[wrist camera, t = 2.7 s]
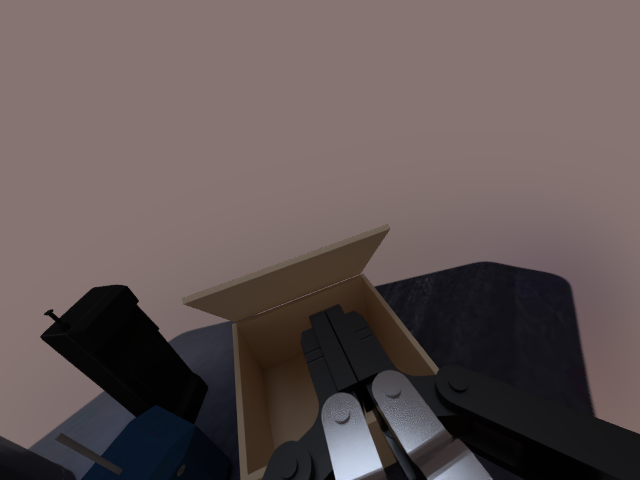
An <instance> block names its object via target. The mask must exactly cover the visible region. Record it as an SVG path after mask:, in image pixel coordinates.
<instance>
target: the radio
mask: <svg viewBox="0 0 640 480" xmlns="http://www.w3.org/2000/svg"><path fill="white" fill-rule="evenodd" d="M55 440H57V441H59V442H61V443H62V444H64V445H66V446H68V447H70V448H71V449H73V450H75V451H77V452H79V453H80V454H82V455H84V456H86V457H87V458H89V459H91V460H93V461H95V462H96V463H95V464H94V465H93V466H92V467H91V468H90V470H89V471H88V472H87V473H86V474H85V476H84V477H83V478H82V479H81V480H226V476H227V472H228V468H229V464H230V459H229V458H228V457H227V456H226V455H225V454H224V453H223V452H222V451H221V450H220V449H219V448H218V447H217V446H216V445H215V444H214V443H213V442H212V441H211V440H210V439H209V438H208V437H207V436H206V435H205V434H204V433H203V432H202V431H201V430H200V429H199V428H198V427H197V426H196V425H194V424H192V423H190V422H188V421H186V420H184V419H182V418H180V417H179V416H177V415H175V414H173V413H171V412H169V411H167V410H165V409H163V408H161V407H159V406H157V405H155V406H154V407H152V408H151V409H149V410H147V411H146V412H144V413H143V414H141V415H140V416H138V417H137V418H135V419H133V420H132V421H130V423H129V424H128V425H127V426H126V427H125V429H124V430H123V431H122V432H121V433H120V434H119V436H118V437H117V438H116V439H115V440H114V441H113V443H112V444H111V445H110V446H109V447H108V448H107V450H106V451H105V452H104V453H103V454H102V456H99V455H98V454H96V453H94V452H92V451H91V450H89V449H87V448H86V447H84V446H82V445H81V444H79V443H77V442H75V441H74V440H72V439H70V438H69V437H67V436H65V435H64V434H62V433H60V434H59V435H58V436H57V437H56V438H55Z"/></svg>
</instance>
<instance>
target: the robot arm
mask: <svg viewBox="0 0 640 480" xmlns="http://www.w3.org/2000/svg"><path fill="white" fill-rule="evenodd" d="M309 319H310V322H311V325H312V328H310V329H308V330H305V331H303V332H302V334H301V341H300V344H301V347H302V350H303V354H304V357H305V360H306V363H307V366H308V369H309V372H310V376H311V379H312V382H313V385H314V388H315V391H316V395H317V398H318V402H319V411H318V415H317V418H316V421H315V423H314V424H313V426H312V427H311V428H310V429H309V430H308V431H307V432H306V433H305V434H304V435H303V436H302V437H301V438H300V439H299V440H298V441H287V442H284V443H283V444H281V445H280V446H279V447H277V449H276V450H275V451H274V452H273V454H272V456H271V458H270V460H269V462H268V465H267V468H266V470H265V473H264V475H263V478H262V480H388V479H387V477H386V474H385V472H384V469H383V467H382V464H381V461H380V458H379V456H378V453H377V450H376V447H375V445H374V442H373V439H372V436H371V434H370V431H369V428H368V426H367V422H366V418H365V412H364V409H365V411H366V413H368V412H370V411H373V413H374V416H375V418H376V420H377V422H378V425H379V429H380V432H381V434H382V436H383V438H384V439H385V441H386V443H387V445H388V447H389V448H390V450H391V452H392V454H393V456H394V458H395V459H396V461H397V463H398V465H399V467H400V468H401V470H402V472H403V474H404V476H405V477H406V479H407V480H493V479H492V478H491V477H490V475H489V474H488V473H487V471H486V470H485V469H484V468H483V466H482V465H481V464H480V462H479V461H478V460H477V459H476V457H475V456H474V455H473V454H472V452H473V453H475V454H477V455H479V456H481V457H483V458H485V459H487V460H489V461H490V462H492V463H494V464H496V465H498V466H500V467H502V468H504V469H506V470H507V471H509V472H511V473H513V474H515V475H517V476H519V477H521V478H523V479H524V480H640V434H638V433H635V432H632V431H630V430H627V429H624V428H622V427H619V426H617V425H614V424H612V423H609V422H606V421H604V420H601V419H598V418H596V417H593V416H590V415H588V414H585V413H583V412H580V411H577V410H575V409H572V408H569V407H567V406H564V405H561V404H559V403H556V402H554V401H551V400H548V399H546V398H543V397H540V396H538V395H535V394H532V393H530V392H527V391H525V390H522V389H519V388H517V387H514V386H511V385H509V384H506V383H503V382H501V381H498V380H496V379H493V378H490V377H488V376H485V375H482V374H480V373H477V372H474V371H472V370H469V369H467V368H464V367H461V366H458V365H446V366H443V367H442V368H440V369H439V370H438V372H437V374H436V375H426V376H411V375H407V374H405V373H403V372H401V371H400V370H399V369H397V368H396V367H395V365H394V364H393V363H392V361H391V360H390V358H389V356H388V355H387V353H386V352H385V350H384V349H383V347H382V346H381V344H380V342H379V341H378V339H377V338H376V336H375V335H374V333H373V331H372V330H371V328H370V327H369V325H368V324H367V322H366V320H365V319H364V317H363V316H361V315H360V314H358V313H357V312H356V311H354V310H353V311H351V312H348V313H346V314H345V313H344V311H343V309H342V308H341V306H340V305H339V304H337V305H334V306H332V307H329V308H327V309H324V311H323V310H322V311H320V312H317V313H315V314H312V315H310V316H309ZM471 451H472V452H471ZM0 480H75V476H74V475H73V473H72V472H71V471H69V470H67V469H65V468H64V467H62V466H61V465H59V464H56V463H53V462H51V461H49V460H48V459H46V458H44V457H42V456H40V455H38V454H36V453H34V452H32V451H30V450H28V449H25V448H23V447H21V446H19V445H17V444H15V443H13V442H11V441H9V440H7V439H5V438H3V437H1V436H0Z"/></svg>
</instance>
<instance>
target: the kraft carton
mask: <svg viewBox="0 0 640 480" xmlns="http://www.w3.org/2000/svg"><path fill="white" fill-rule="evenodd" d="M337 304H339V305H340V306H341V308H342V309H343V311H344V313H345V314H346V313H348V312H351V311H353V310H354V311H356V312H357V313H358V314H360V315H361V316H363V317H364V319H365V320H366V322H367V324H368V325H369V327H370V328H371V330H372V331H373V333H374V335H375V336H376V338H377V339H378V341H379V342H380V344H381V346H382V347H383V349H384V350H385V352H386V353H387V355H388V356H389V358H390V360H391V361H392V363H393V364H394V365H395V367H396V368H397V369H399V370H400V371H401V372H403V373H405V374H407V375H411V376H426V375H436V374H437V372H438V370H439V369H438V367H437V366H436V365H435V364H434V362H433V361H432V360H431V358H430V357H429V356H428V355H427V353H426V352H425V351H424V350H423V348H422V347H421V346H420V345H419V343H418V342H417V341H416V339H415V338H414V337H413V336H412V334H411V333H410V332H409V331H408V329H407V328H406V327H405V326H404V324H403V323H402V322H401V320H400V319H399V318H398V317H397V315H396V314H395V313H394V312H393V310H392V309H391V308H390V307H389V305H388V304H387V303H386V302H385V300H384V299H383V298H382V296H381V295H380V294H379V293H378V291H377V290H376V289H375V288H374V286H373V285H372V284H371V283H370V281H369V280H368V279H367V278H366V276H365V275H364V274H361V275H358V276H356V277H353V278H351V279H348V280H346V281H343V282H340V283H338V284H335V285H333V286H330V287H328V288H325V289H322V290H320V291H317V292H315V293H312V294H310V295H307V296H304V297H302V298H299V299H297V300H294V301H292V302H289V303H287V304H284V305H281V306H279V307H276V308H274V309H271V310H268V311H266V312H263V313H261V314H258V315H256V316H253V317H250V318H248V319H245V320H243V321H240V322H238V323H235V324H232V326H233V345H234V364H235V383H236V402H237V421H238V439H239V458H240V477H241V480H262V478H263V475H264V473H265V470H266V468H267V465H268V462H269V460H270V458H271V456H272V454H273V452H274V451H275V450H276V449H277V447H279V446H280V445H281V444H283V443H284V442H287V441H298V440H299V439H300V438H301V437H302V436H303V435H304V434H305V433H306V432H307V431H308V430H309V429H310V428H311V427H312V426H313V424H314V423H315V421H316V418H317V415H318V411H319V402H318V398H317V395H316V391H315V388H314V385H313V382H312V379H311V376H310V372H309V369H308V366H307V363H306V360H305V357H304V354H303V350H302V347H301V344H300V341H301V334H302V332H303V331H305V330H308V329H310V328H312V325H311V322H310V319H309V316H310V315H312V314H315V313H317V312H320V311H322V310H323V311H324V309H327V308H329V307H332V306H334V305H337ZM364 412H365V418H366V422H367V426H368V428H369V431H370V434H371V436H372V439H373V442H374V445H375V447H376V450H377V453H378V456H379V458H380V461H381V464H382V467H383V469H384V468H386V467H388V466H390V465H391V464H393V463H395V462H397V461H396V459H395V458H394V456H393V454H392V452H391V450H390V448H389V447H388V445H387V443H386V441H385V439H384V438H383V436H382V434H381V432H380V429H379V425H378V422H377V420H376V418H375V416H374V413H373V411H370V412H368V413H366V411H365V409H364Z"/></svg>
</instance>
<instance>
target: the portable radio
mask: <svg viewBox="0 0 640 480" xmlns="http://www.w3.org/2000/svg"><path fill="white" fill-rule="evenodd" d="M138 302H139V300H138V299H137V298H136V296H135V295H134V294H133V293H132V291H131V290H130V289H129V288H128V287H127V286H124V285H110V286H103V287H94V288H92V289H91V290H90V291H89V292H87V293H86V294H85V295H84V296H83V297H82V298H81V299H80V300H79V301H78V302H77V303H75V304H74V305H73V306H72V307H71V308H70V309H69V310H68V311H67V312H66V313H65V314H63V315H62V316H61V317H60V318H58V317H57V316H56V315H55V314H54V313H52V312H53V309H52V310H49V311H47V312H46V313H45V314H44V315H49V316H50V317H51V318H52V319H53V320H55V321H56V322H55V323H54V324H53V325H51V326H50V327H49V328H48V329H47V330H46V331H45V332H44V333H43V334H42V335H41V336H40V337H41V338H42V340H43V341H45V342H46V343H47V344H49V345H50V346H51V347H52V348H53V349H55V350H56V351H57V352H58V353H59V354H61V355H62V356H63V357H64V358H66V359H67V360H68V361H69V362H70V363H72V364H73V365H74V366H75V367H76V368H78V369H79V370H80V371H81V372H83V373H84V374H85V375H86V376H87V377H89V378H90V379H91V380H92V381H93V382H95V383H96V384H97V385H98V386H100V387H101V388H102V389H103V390H104V391H106V392H107V393H108V394H109V395H110V396H112V397H113V398H114V399H115V400H116V401H118V402H119V403H120V404H121V405H122V406H124V407H125V408H126V409H127V410H128V411H129V412H131V413H132V414H133V415H134V416H135V417H136V418H137V417H138V416H140V415H141V414H143V413H144V412H146V411H147V410H149V409H151V408H152V407H154V406H155V405H157V406H159V407H161V408H163V409H165V410H167V411H169V412H171V413H173V414H175V415H177V416H179V417H180V418H182V419H184V420H186V421H188V422H190V423H192V424H194V422H195V420H196V417H197V414H198V412H199V409H200V407H201V404H202V402H203V399H204V397H205V394H206V392H207V388H208V386H207V385H206V383H205V382H204V381H203V380H202V379H201V377H200V376H198V375H197V374H195V373H193V372H192V371H191V370H190V368H189V367H188V366H187V365H186V364H185V363H184V361H183V360H182V359H181V358H180V357H179V355H178V354H177V353H176V352H175V350H174V349H173V348H172V347H171V346H170V344H169V343H168V342H167V341H166V340H165V338H164V337H163V336H162V335H161V334H160V332H159V331H158V330H159V328H158V326H156V325H155V323H154V322H152V320H151V319H150V318H149V317H148V316H147V315H146V314H145V313H144V312H143V311H142V310H141V309H140V308H139V307H138V305H137V303H138Z"/></svg>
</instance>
